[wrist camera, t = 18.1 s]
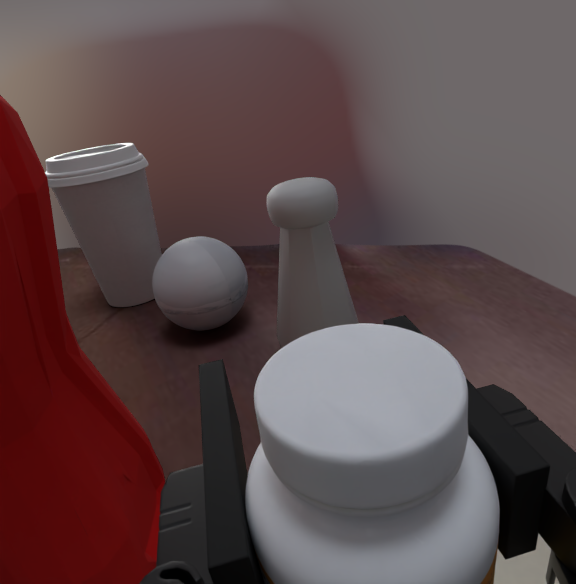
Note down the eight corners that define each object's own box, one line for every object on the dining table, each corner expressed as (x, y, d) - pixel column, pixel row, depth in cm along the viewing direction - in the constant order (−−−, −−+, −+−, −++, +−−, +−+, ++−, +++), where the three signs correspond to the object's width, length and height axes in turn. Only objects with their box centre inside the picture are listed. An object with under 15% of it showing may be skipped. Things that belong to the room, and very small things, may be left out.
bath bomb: (264, 300, 41) (249, 220, 38) (242, 348, 34) (220, 255, 31) (186, 303, 43) (165, 227, 40) (151, 350, 36) (121, 262, 33)
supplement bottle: (432, 537, 15) (435, 289, 11) (526, 751, 10) (598, 457, 6) (280, 568, 15) (219, 328, 11) (301, 801, 10) (207, 534, 6)
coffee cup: (199, 278, 48) (163, 138, 42) (132, 321, 41) (76, 161, 35) (142, 270, 53) (101, 143, 47) (74, 307, 46) (14, 164, 40)
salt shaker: (301, 396, 28) (270, 202, 23) (271, 354, 33) (238, 185, 27) (378, 366, 30) (366, 178, 24) (338, 330, 35) (320, 166, 29)
